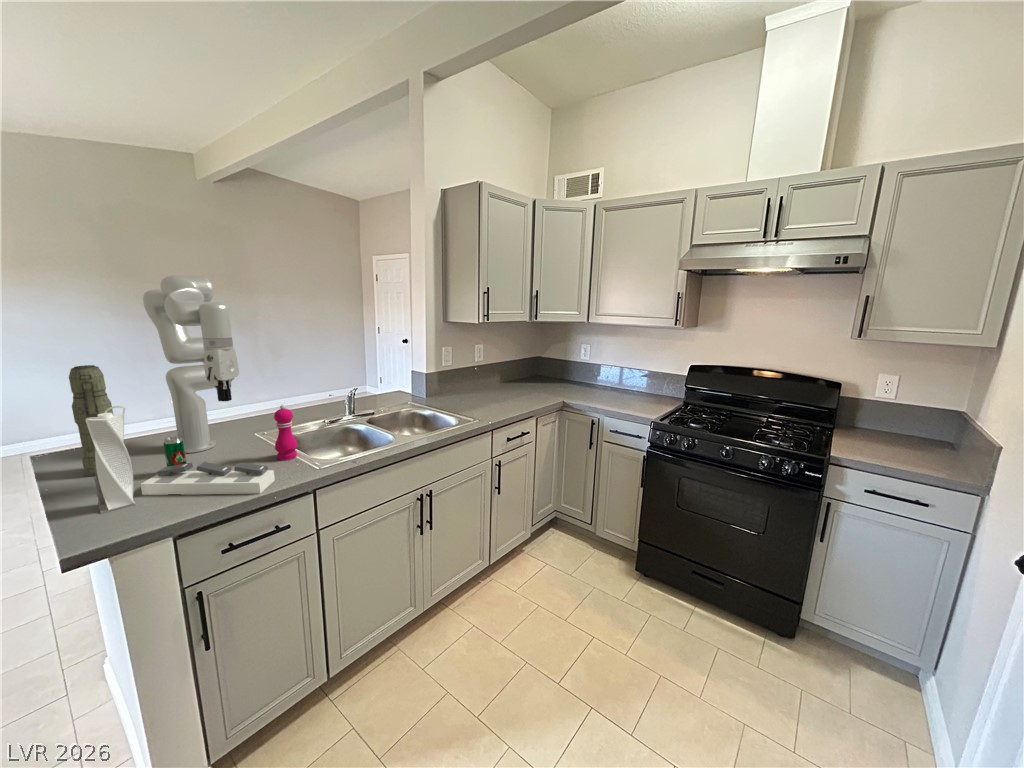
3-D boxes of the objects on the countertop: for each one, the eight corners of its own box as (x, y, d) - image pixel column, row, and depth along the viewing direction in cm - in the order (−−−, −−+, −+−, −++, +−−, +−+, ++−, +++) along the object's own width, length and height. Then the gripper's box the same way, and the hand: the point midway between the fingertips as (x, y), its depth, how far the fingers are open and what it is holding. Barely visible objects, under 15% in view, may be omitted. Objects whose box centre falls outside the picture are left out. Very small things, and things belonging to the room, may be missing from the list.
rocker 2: (234, 472, 125) (234, 466, 125) (240, 467, 128) (241, 462, 128) (261, 476, 126) (262, 470, 126) (267, 471, 130) (267, 465, 129)
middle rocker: (196, 472, 124) (197, 466, 124) (203, 467, 127) (204, 461, 127) (223, 477, 125) (224, 471, 125) (230, 472, 129) (231, 467, 128)
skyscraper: (138, 494, 119) (122, 402, 114) (143, 504, 114) (126, 408, 108) (98, 504, 113) (79, 408, 107) (101, 515, 108) (81, 414, 102)
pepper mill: (293, 452, 155) (288, 401, 150) (301, 457, 150) (297, 404, 146) (272, 457, 149) (267, 404, 145) (281, 462, 145) (276, 408, 140)
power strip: (142, 494, 119) (140, 483, 118) (165, 481, 128) (163, 470, 127) (260, 493, 122) (259, 482, 122) (274, 480, 131) (273, 469, 130)
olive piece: (88, 480, 127) (66, 370, 120) (82, 470, 134) (61, 365, 127) (126, 471, 134) (107, 367, 127) (119, 462, 141) (101, 362, 134)
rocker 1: (158, 477, 123) (156, 471, 123) (167, 472, 127) (165, 466, 126) (185, 473, 124) (183, 467, 123) (193, 468, 127) (191, 462, 127)
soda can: (171, 470, 136) (166, 436, 133) (190, 468, 137) (185, 435, 135) (165, 476, 131) (159, 441, 129) (184, 474, 133) (179, 440, 130)
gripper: (216, 346, 119) (223, 406, 123) (244, 341, 134) (250, 395, 137) (188, 346, 118) (197, 406, 122) (220, 340, 133) (226, 395, 137)
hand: (225, 400), depth 130 cm, fingers closed
